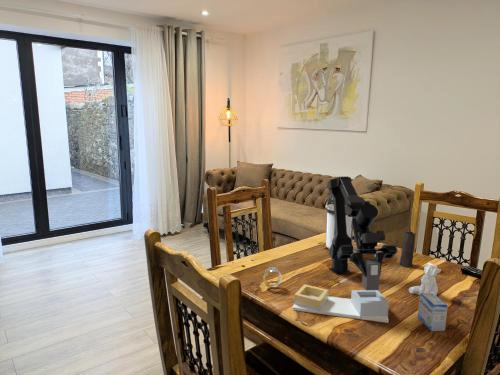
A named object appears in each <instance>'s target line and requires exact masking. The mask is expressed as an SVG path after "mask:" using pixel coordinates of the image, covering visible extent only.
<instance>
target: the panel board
mask: <svg viewBox="0 0 500 375" xmlns="http://www.w3.org/2000/svg"><path fill="white" fill-rule="evenodd" d="M296 310H297V311H298V312H306V313H312V314H313V313H314V314H319V311H318V310H314V309H311V308H307V307H303V306H300V305H296V304H294V303H293V305H292V311H296ZM320 315H327V316H332V317H333V316H335V317H343V318H350V319H357V320H362V321H363V320H364V321H372V322H373V321H374V322H378V323H387V324H388V323H389V315H388V316H362V318H361V319H360V315H359V314H358V312H357V311H356V309H355V308H354V306H353V305H352V303H351V298H344V297H336V296H329V297H328V301H327V302H326V303H325V305H324V306H323V307H322V308H321V310H320Z"/></svg>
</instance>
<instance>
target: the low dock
mask: <svg viewBox="0 0 500 375" xmlns="http://www.w3.org/2000/svg"><path fill="white" fill-rule="evenodd" d="M329 292H330V290H329V289H326V288H321V287H318V286H317V287H316V286H313V285H309V284H306V283H305V284H302V286H301V287H300V288H299V289H298V290H296V292H295V293H294V295H293V297H294V298H293V302H294V303H293V305H294V304H296V305H300V306H303V307H307V308H311V309H314V310H318V311H319V314H320V310H321V308H322V307H323V306H324V305H325V303H326V302H327V301H328V297H330V296H329V294H330V293H329ZM320 315H321V314H320Z"/></svg>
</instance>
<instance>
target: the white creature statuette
mask: <svg viewBox="0 0 500 375" xmlns="http://www.w3.org/2000/svg"><path fill="white" fill-rule="evenodd" d="M423 269H424V270H423V272H424V274H423V276H422V277H421V279H420V282H421V284H420V285H415V286H413V285H412V287H411V286H410V287H409V288H408V292H409V293H410V294H412V295H418V296H420V293H433V294H434V295H436V296H437V295H438V292H439V287H438V285H437V278H436V276H438V275H437V274H439V273H441V271H442V269H439V268H438V266H437V265H436V264H433V263H430V262H426V265H425V266H424V267H423Z"/></svg>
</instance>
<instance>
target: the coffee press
mask: <svg viewBox="0 0 500 375" xmlns="http://www.w3.org/2000/svg"><path fill="white" fill-rule="evenodd" d="M345 205H346V200H345ZM325 209H326V227H325V228H326V230H325V244H323V246H322V248H323V247H327V248H328V250H329V249H330V247H331V245H332V240H333V238H334V236H335V218H334V201H333V199H332V197H331V196H330V195H329V197H328V198H327V199H326V204H325ZM345 213H346V212H345ZM353 219H354V217H348V215H347V214H346V229H347V235H348V236H349V237H350V238H351V239H352V241H354V238H355V237H354V235H353V233H354V232H353V228H352V227H351V224H352V223H351V222H352V220H353Z"/></svg>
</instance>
